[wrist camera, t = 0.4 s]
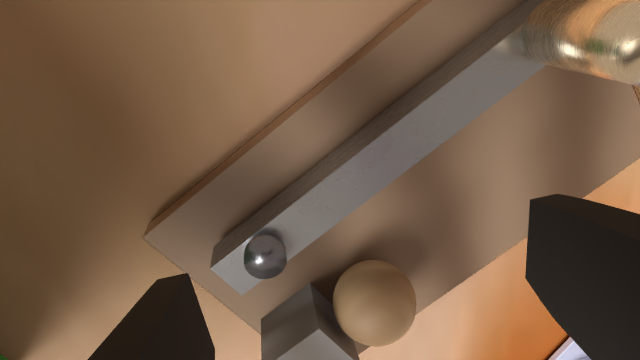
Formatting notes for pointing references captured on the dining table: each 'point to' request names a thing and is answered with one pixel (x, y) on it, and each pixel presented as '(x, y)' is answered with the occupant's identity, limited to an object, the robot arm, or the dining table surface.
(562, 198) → the robot arm
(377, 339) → the tan wooden ball
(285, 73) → the dining table surface
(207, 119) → the dining table surface
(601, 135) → the base
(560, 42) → the lever
